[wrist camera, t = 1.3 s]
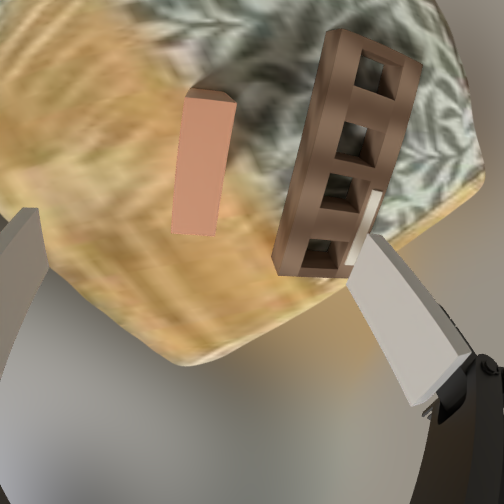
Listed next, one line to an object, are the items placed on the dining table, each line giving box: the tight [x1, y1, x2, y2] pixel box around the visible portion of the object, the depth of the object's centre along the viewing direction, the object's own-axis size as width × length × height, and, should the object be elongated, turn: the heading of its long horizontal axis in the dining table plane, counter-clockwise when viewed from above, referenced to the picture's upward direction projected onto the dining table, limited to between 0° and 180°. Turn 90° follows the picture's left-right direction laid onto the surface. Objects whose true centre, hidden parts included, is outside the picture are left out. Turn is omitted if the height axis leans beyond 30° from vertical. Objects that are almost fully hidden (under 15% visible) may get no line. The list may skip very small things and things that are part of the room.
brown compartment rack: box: [271, 28, 423, 278], centre depth 28 cm, size 25×9×4 cm, turn 169°
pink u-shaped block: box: [171, 88, 237, 236], centre depth 22 cm, size 9×3×10 cm, turn 169°
